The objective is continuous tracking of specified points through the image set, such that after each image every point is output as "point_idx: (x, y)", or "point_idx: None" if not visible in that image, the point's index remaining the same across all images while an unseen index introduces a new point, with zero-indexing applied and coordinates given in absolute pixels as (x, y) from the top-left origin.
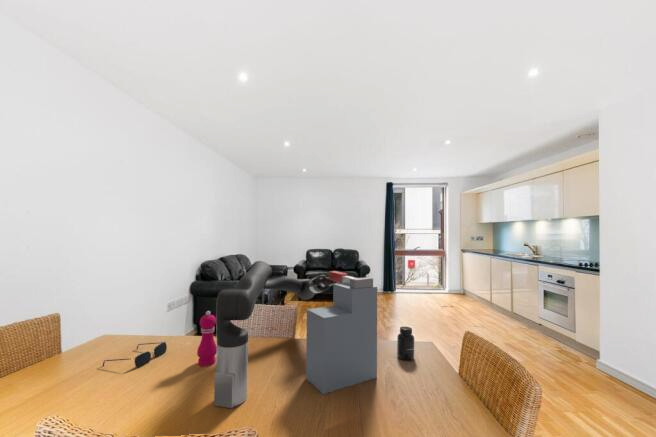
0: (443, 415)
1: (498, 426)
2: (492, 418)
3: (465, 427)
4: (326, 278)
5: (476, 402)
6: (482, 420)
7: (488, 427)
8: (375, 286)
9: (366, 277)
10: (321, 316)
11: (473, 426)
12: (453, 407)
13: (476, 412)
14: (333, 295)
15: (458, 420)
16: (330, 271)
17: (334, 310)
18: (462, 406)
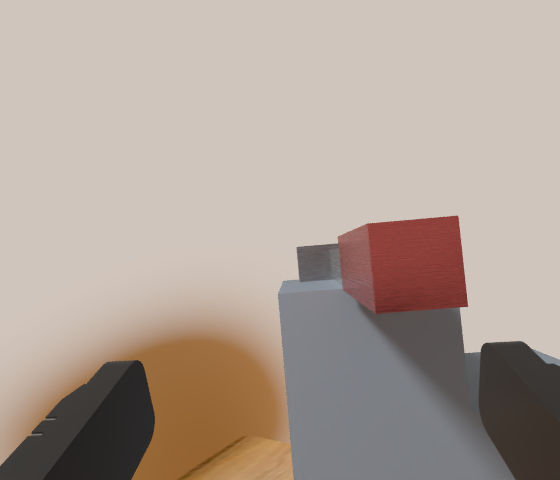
0: (292, 469)
1: (246, 440)
2: (233, 448)
3: (288, 448)
4: (488, 361)
5: (205, 472)
6: (251, 450)
7: (260, 442)
8: (285, 281)
9: (305, 246)
10: (542, 353)
11: (276, 447)
12: (255, 475)
13: (237, 460)
14: (463, 348)
15: (282, 457)
16: (437, 218)
17: (476, 375)
18: (238, 473)
